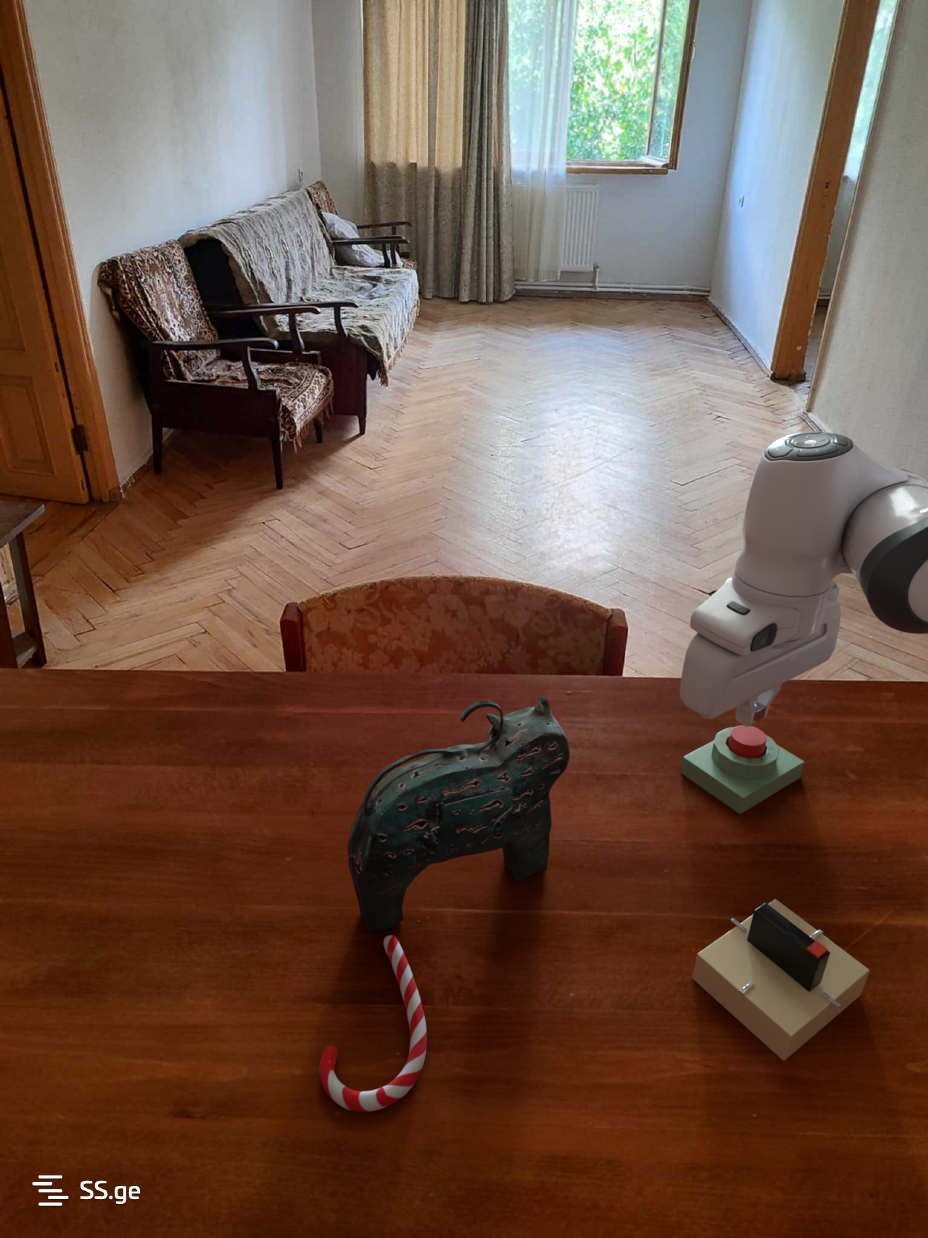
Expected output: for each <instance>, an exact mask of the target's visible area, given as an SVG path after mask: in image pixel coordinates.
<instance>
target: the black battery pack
mask: <svg viewBox="0 0 928 1238" xmlns="http://www.w3.org/2000/svg"><path fill="white" fill-rule="evenodd" d="M768 904H769V903H767V902H764V903H763V904H761V905H760V906H758V907H757V908H755V909H754V910H753V913H752V915H753V917H752V921H751V925H750V929H749V934H748V938H747V941H748V942H749V943H751V944H752V945H753V946H754V947H755V948H757V949H758V950H759V951H760V952H761V953H763V954H764V955H765V956H766V957H767V958H769V959H770V960H771V961H772V962H774V963H775V964H776V965H777V966H778V967H780V968H781V969H782V970H783V971H784V972H786V973H787V974H788V975H789V976H790V977H792V978H793V979H794V980H795V981H797V982H798V983H799V984H800V985H801V986H803V987H804V988H805V989H806V990H807V991H809V992H810V991H811V990H813V989H814V988H815V987H816V986H818V985H819V984H820V983H821V981H822V977H823V974H824V971H825V968H826V965H827V962H828V958H829V955H830V952H829V951H828V949H827V948H826V947H824V946H823V945H822V944H820V943H819V942H818V941H815V940H814V939H812V938H811V937H810V936H808V935H807V934H806V933H805V932H803V931H802V930H801V929H799V928H798V927H797V926H796V925H794V924H793V923H792V922H790V921H789V920H788V919H787V918H785V917H784V916H783V915H781V914H780V913H779V912H777V911H776V910H775V909H774V908H772V907H771V906H770V905H768Z"/></svg>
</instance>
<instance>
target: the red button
mask: <svg viewBox="0 0 928 1238" xmlns="http://www.w3.org/2000/svg"><path fill="white" fill-rule="evenodd" d="M733 727H734V728H733ZM733 727H732V728H733V729H732V730H731V734H730V739H729V744H728V747H729V749H730V751H731V752H733V753H735V754H736V755H738V756H741V757H745V758H749V759H750V758H759V757H761V756H762V755H763V753H764V748H765V744H766V735H767V734H765V732H764V731H763V730H761V729H759V728H758V727H756V726H752V725H750V726H748V727H746V726H744V725H742V724H741V725H736V726H733Z"/></svg>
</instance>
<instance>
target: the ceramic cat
mask: <svg viewBox="0 0 928 1238" xmlns="http://www.w3.org/2000/svg"><path fill="white" fill-rule="evenodd" d="M488 707H490V708H494V709H495V710H497V711H498V712H499V716H498V715H495V714H491V713H486V714H485V715H486V719H487V720H488V722H489V723H490V725H491V726H490V728H489V729H488V731H487V733H486V741H484V742H479V743H473V744H458V745H452V746H449V747H446V748H433V749H432V748H431V749H423V750H420V751H418V752H415V753H412V754H409V755H406V756H404V757H402V758H400V759H397V760H396V761H394V762H391V764H389V765H387V766H385V767H384V768H382V769H380V771H379V772H378V773H377V774H376V776H375V777H374V778H373V779H372V780H371V782H370V784H369V786H368V788H367V790H366V793H365V795H364V799H363V801H362V803H361V805H360V806H359V808H358V811H357V814H356V816H355V819H354V820H353V822H352V824H351V827H350V831H349V835H348V840H347V858H348V868H349V873H350V876H351V879H352V885H353V888H354V892H355V895H356V900H357V903H358V908H359V913H360V915H361V917H362V919H363V921H364V923H365V925H366V928H367V930H368V933H369V934H372V933H377V932H381V931H385V930H388V929H390V928H393V927H396V926H397V925H398V924H400V923H402V922H403V921H404V912H403V904H404V901H405V896H406V891H407V889H408V888H409V887H410V885H411V884H412V883H413V881H414V880H415V878H416V877H418V876H419V874H421V873H422V872H423V871H424V870H426V868H428V867H430V866H431V865H434V864H441V863H445V862H448V861H451V860H453V859H458V858H462V857H467V856H474V855H480V854H483V853H487V852H488V853H489V852H493V851H496V850H500V849H502V855H503V863H504V864H505V866H506V869H507V870H508V871H509V873H510V874H511V876H513V878H514V879H515V881H516V883H520V882H522V881H524V880H527V878H530V877H533V876H535V875H540V874H543V873H545V872H546V871H547V870H548V863H549V862H548V861H549V855H550V835H551V834H550V833H551V829H552V810H551V797H550V792H551V790H552V787H553V785H555V783H556V782H557V780H559V778H560V777H561V776H563V774H564V772H565V770H566V769H567V768H568V764H569V761H570V757H571V753H570V742H569V739H568V737H567V735H566V734H565V731H564V730H563V729H562V727H561V726H560V723H559V722H558V720H556V719H557V718H555V717H554V715H553V713H552V710H551V706H550V703H549V700H548V699H547V698H546V697H544V696H543V695H541V697H540V698H539V699H538V702H537V704H536V706H529V707H524V708H520V709H516V710H514V711H512V712H509V713H507V714H505V715H504V712H503V710H502V708H501V707H500V705H499V704H497V703H495V702H492V701H489V700H479V701H476V702H474V703H472V704H470V705H468V706H467V707H466V708H465V709H464V710H463V712H462V714H461V716H460V718H459V720H460V721H461V723H464V722H465V721H466V719H467V718H468V717H469V716H470V715H471V714H472V713H473V712H475V711H476V710H478V709H481V708H488ZM423 756H424V757H423ZM419 757H422V758H420V759H418V760H415V761H412V760H414V759H417V758H419ZM409 761H412V762H409ZM386 775H387V776H386ZM385 776H386V777H385Z"/></svg>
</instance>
